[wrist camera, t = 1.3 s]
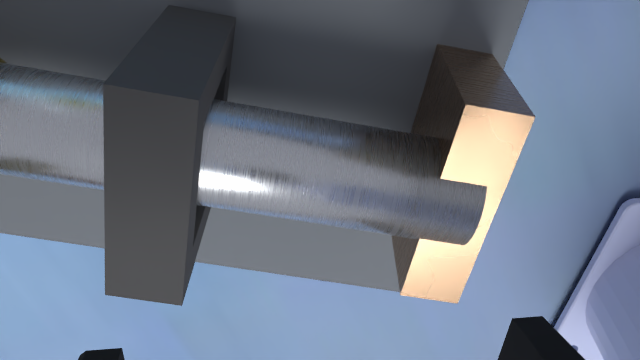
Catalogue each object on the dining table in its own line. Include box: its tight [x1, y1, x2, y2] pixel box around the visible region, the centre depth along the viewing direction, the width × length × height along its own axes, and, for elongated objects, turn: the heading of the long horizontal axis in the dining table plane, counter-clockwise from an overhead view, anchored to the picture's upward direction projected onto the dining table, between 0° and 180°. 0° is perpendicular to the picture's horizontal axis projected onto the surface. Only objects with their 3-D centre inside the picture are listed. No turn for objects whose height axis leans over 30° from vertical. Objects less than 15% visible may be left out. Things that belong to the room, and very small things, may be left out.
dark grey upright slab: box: [103, 5, 236, 306], centre depth 17 cm, size 2×6×6 cm, turn 169°
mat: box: [0, 0, 529, 292], centre depth 20 cm, size 20×14×1 cm
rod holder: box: [0, 44, 535, 303], centre depth 17 cm, size 19×6×5 cm, turn 80°
